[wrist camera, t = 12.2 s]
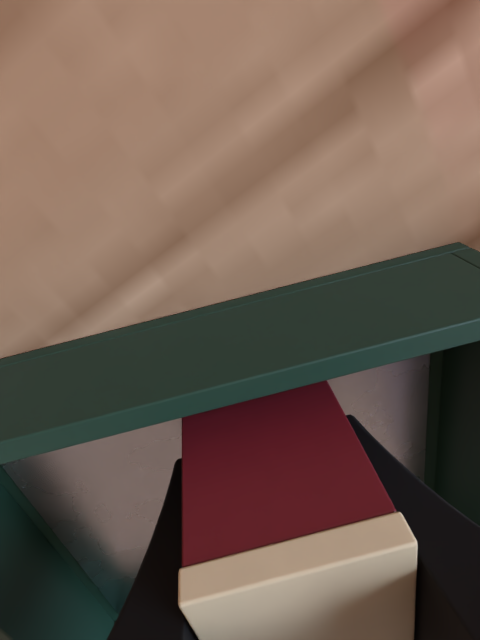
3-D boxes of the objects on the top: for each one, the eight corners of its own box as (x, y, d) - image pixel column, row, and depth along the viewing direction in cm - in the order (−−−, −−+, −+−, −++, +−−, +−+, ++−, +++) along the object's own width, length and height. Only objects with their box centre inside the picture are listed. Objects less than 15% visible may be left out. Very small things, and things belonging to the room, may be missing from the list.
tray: (459, 241, 11) (571, 295, 8) (436, 530, 19) (489, 618, 15) (-88, 380, 11) (-198, 493, 8) (107, 617, 18) (92, 725, 15)
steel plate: (427, 293, 11) (433, 298, 11) (418, 532, 18) (421, 539, 17) (-32, 411, 11) (-37, 418, 11) (122, 611, 17) (121, 619, 17)
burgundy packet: (314, 350, 11) (419, 543, 6) (330, 469, 13) (414, 671, 9) (178, 385, 11) (176, 607, 6) (221, 497, 13) (244, 716, 9)
